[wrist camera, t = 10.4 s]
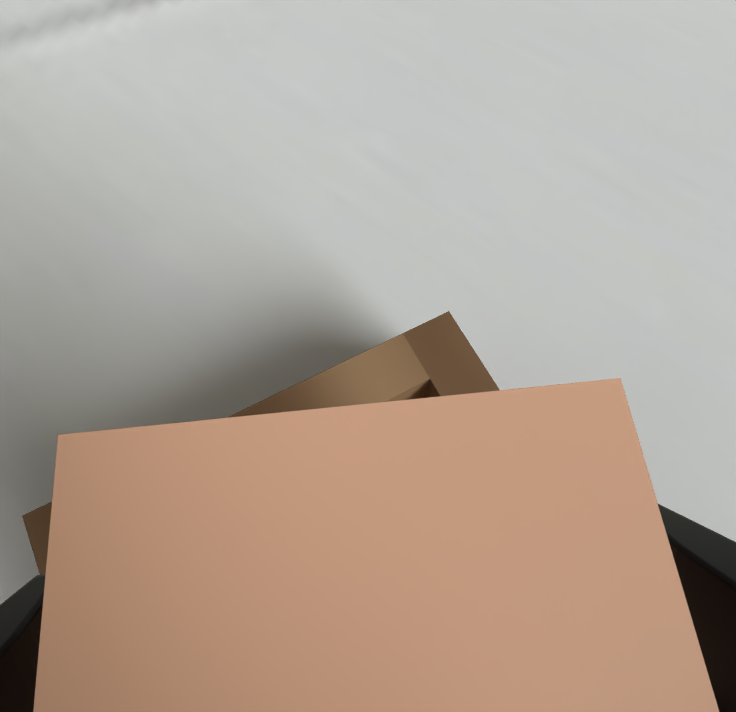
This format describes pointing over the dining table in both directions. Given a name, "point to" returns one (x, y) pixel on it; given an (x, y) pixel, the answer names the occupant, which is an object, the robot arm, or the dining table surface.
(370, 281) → the dining table surface
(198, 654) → the terracotta peg
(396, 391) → the walnut well holder
